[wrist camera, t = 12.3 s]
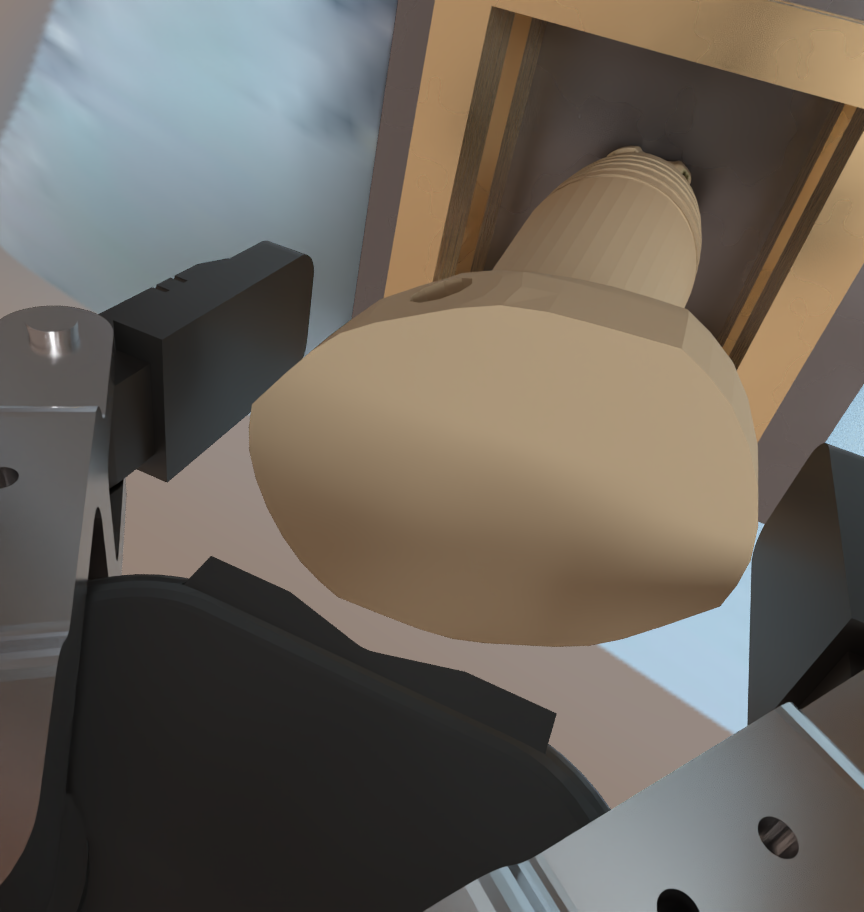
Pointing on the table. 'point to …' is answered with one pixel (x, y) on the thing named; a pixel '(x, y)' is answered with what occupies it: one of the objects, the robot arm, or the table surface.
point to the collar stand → (658, 133)
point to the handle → (528, 432)
